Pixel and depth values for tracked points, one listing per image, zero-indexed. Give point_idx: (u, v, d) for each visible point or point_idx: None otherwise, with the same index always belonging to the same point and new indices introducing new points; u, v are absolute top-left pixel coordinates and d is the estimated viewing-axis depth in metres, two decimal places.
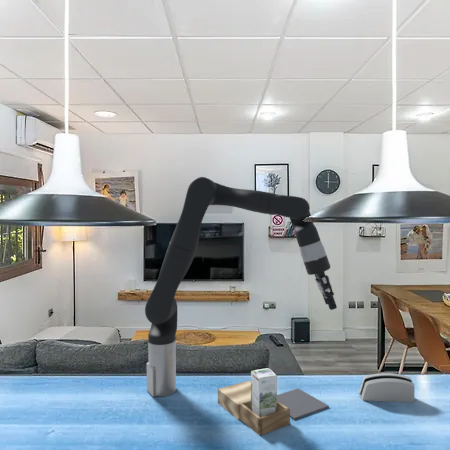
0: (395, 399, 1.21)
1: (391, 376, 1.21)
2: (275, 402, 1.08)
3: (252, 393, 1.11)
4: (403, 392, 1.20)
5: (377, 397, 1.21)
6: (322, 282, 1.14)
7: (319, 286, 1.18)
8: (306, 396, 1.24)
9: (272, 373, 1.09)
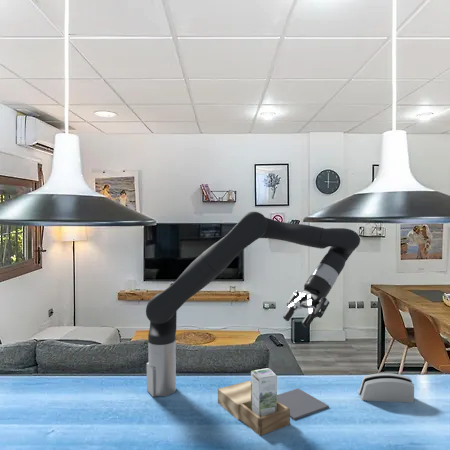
0: (395, 399, 1.21)
1: (391, 376, 1.21)
2: (275, 402, 1.08)
3: (252, 393, 1.11)
4: (403, 392, 1.20)
5: (376, 397, 1.21)
6: (324, 301, 1.12)
7: (310, 301, 1.15)
8: (306, 396, 1.24)
9: (272, 373, 1.09)
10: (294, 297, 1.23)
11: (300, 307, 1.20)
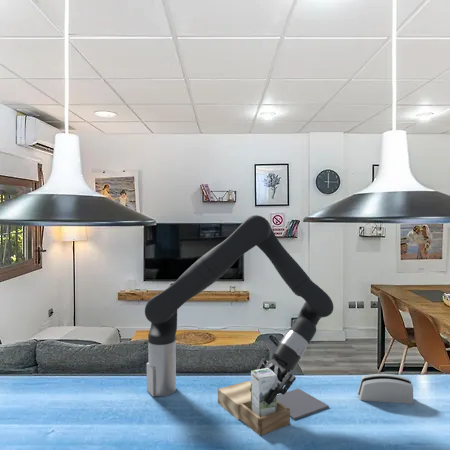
0: (394, 399, 1.20)
1: (389, 377, 1.20)
2: (275, 402, 1.08)
3: (252, 393, 1.11)
4: (401, 393, 1.19)
5: (375, 397, 1.21)
6: (289, 378, 1.06)
7: (276, 374, 1.09)
8: (306, 396, 1.24)
9: (272, 373, 1.09)
10: (262, 366, 1.16)
11: None
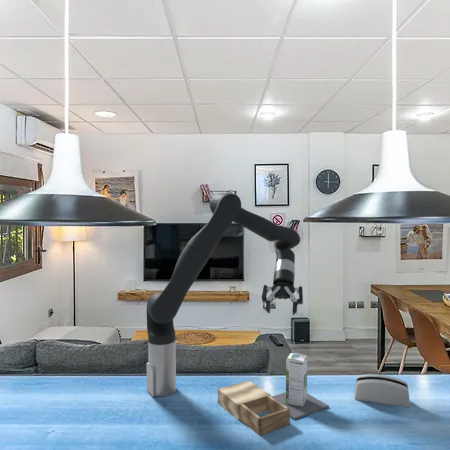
0: (389, 401, 1.19)
1: (384, 378, 1.19)
2: (306, 380, 1.21)
3: (289, 379, 1.18)
4: (396, 395, 1.18)
5: (369, 397, 1.21)
6: None
7: (290, 291, 1.33)
8: None
9: (302, 355, 1.22)
10: (266, 291, 1.36)
11: (274, 299, 1.35)
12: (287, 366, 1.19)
